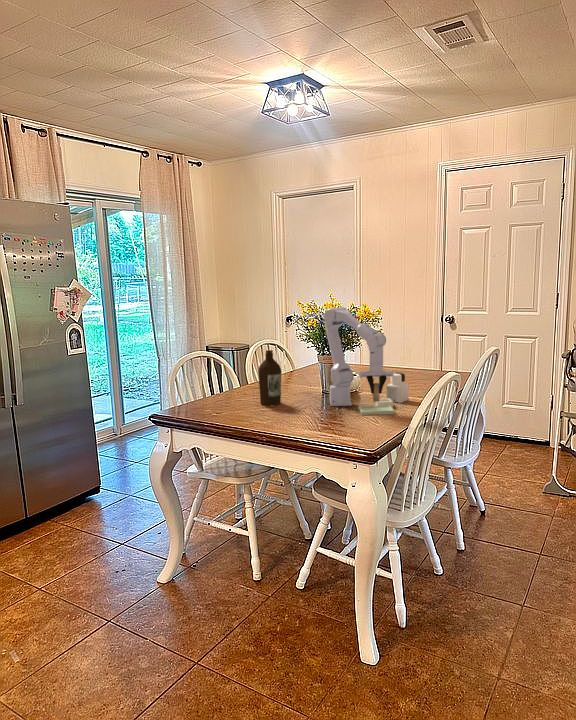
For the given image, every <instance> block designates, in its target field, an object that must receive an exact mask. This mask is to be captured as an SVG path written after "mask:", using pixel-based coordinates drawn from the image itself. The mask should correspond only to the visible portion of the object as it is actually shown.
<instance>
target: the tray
mask: <svg viewBox="0 0 576 720" xmlns="http://www.w3.org/2000/svg"><path fill="white" fill-rule="evenodd" d="M357 409H358V411H359V413H360V415H362V416H367V415H368V414H370V415H371V416H372V414H373V415H374V414H379V415H395V413H396V411H395V409H394V407H393V408H392V407H391V406H390V405H382V406H376V405H358V407H357ZM370 415H368V416H370ZM374 416H375V415H374Z"/></svg>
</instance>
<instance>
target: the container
mask: <svg viewBox="0 0 576 720" xmlns="http://www.w3.org/2000/svg"><path fill="white" fill-rule="evenodd" d="M389 380H390V383H388V384H387V385H386V398H385V399H387V398H390V399H391V400H392V401H393V403H397V402H398V403H397V404H403V403H404V401H405V402H407V401H409V391H410V389H409V383H406V374H405V373H403V372H394V376H393V377H391V376H390V379H389Z"/></svg>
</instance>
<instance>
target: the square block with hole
mask: <svg viewBox="0 0 576 720" xmlns="http://www.w3.org/2000/svg"><path fill="white" fill-rule="evenodd" d="M382 405H390V406H391V407H392V408H393V409H394V402H393V401H392V400H391V399H390V398H387V399H386V398H380V401H379V402H375V405H374V406H382Z"/></svg>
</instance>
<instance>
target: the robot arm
mask: <svg viewBox="0 0 576 720" xmlns="http://www.w3.org/2000/svg"><path fill="white" fill-rule="evenodd" d="M323 319H324V322H325V325H324V329H325V333H326V334H325V335H326V337H327V338H326V339H327V343H328V346H329V351H330V354H331V359H332V365H333V366H332V367H331V369H330V381H331V385H329V404H330V406H331V407H339V406H340V407H342V406H343V407H344V406H345V407H346V406H350V407H351V406H353V403H352V402H351V385H352V382H353V381H354V379H355V378H354V376H355V375H354V372H353V371H352V369H351V366H350V365H349V364H348V363H346V360H345V359H346V358H345V355H344V351H343V346H342V342H341V339H340V338H341V337H340V333H339V328H340V327H341V326H342V325H343V323H346V324H347V325H349V326H350V327H352V328H353V329H355V330H356V334H357V335H358V337H360V338H362V339H363V340H364V341H365V342H366V345H367V346H368V351H369V371H368V370H367V371H359V372H358V377H359V378H366V380H367V382H368V385H369V387H370V388H369V389H370V393H371V394H372V395H373V394H374V390H373V383H375V382H374V381H375V378H374V377H378V383H379V384H380V395H382V392H383V388H384V385H385V384H386V381H387V377H390V378H391V377H393V376H394V373H395V372H394V371H390V370H388V371H387V370H384V346H385V345H386V343H387V338H386V335H385V334H384V333H383V332H377V330H376V329H373V328H372V327H371V326H370V324H369V323H366V322H365V323H362V322H360V320H358V319H357V318H356V317H355V316H354V315H353V314H352V313H350V310H349V309H347V308H346V307H344V306H341V307H329V308H327V309H326V310H325V311H324V313H323Z"/></svg>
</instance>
